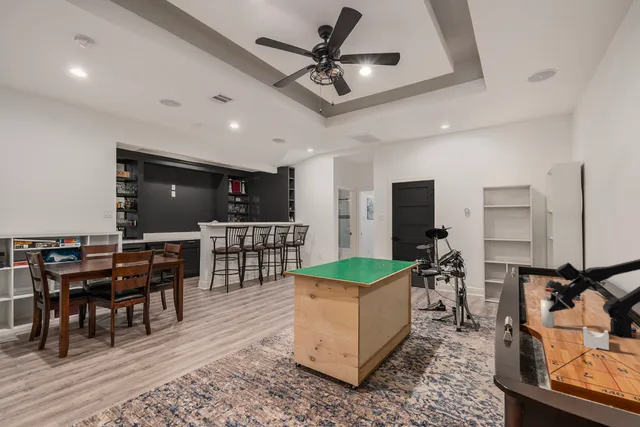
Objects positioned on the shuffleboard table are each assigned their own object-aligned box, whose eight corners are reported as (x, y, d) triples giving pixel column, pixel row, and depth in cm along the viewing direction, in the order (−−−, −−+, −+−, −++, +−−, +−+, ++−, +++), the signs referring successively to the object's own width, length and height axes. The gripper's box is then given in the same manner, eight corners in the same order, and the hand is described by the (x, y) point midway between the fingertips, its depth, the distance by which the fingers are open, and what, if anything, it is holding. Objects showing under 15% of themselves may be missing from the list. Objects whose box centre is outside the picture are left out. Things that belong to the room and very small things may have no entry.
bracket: (609, 352, 111) (607, 332, 111) (584, 347, 116) (583, 328, 116) (609, 343, 120) (607, 324, 121) (585, 338, 125) (584, 320, 126)
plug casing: (557, 328, 138) (556, 298, 139) (546, 327, 138) (544, 297, 139) (550, 324, 143) (548, 295, 144) (539, 324, 143) (537, 295, 144)
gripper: (555, 272, 148) (529, 292, 152) (564, 277, 131) (535, 299, 136) (576, 289, 143) (548, 309, 148) (588, 297, 127) (557, 319, 132)
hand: (547, 308), depth 141 cm, fingers open, 9 cm apart
